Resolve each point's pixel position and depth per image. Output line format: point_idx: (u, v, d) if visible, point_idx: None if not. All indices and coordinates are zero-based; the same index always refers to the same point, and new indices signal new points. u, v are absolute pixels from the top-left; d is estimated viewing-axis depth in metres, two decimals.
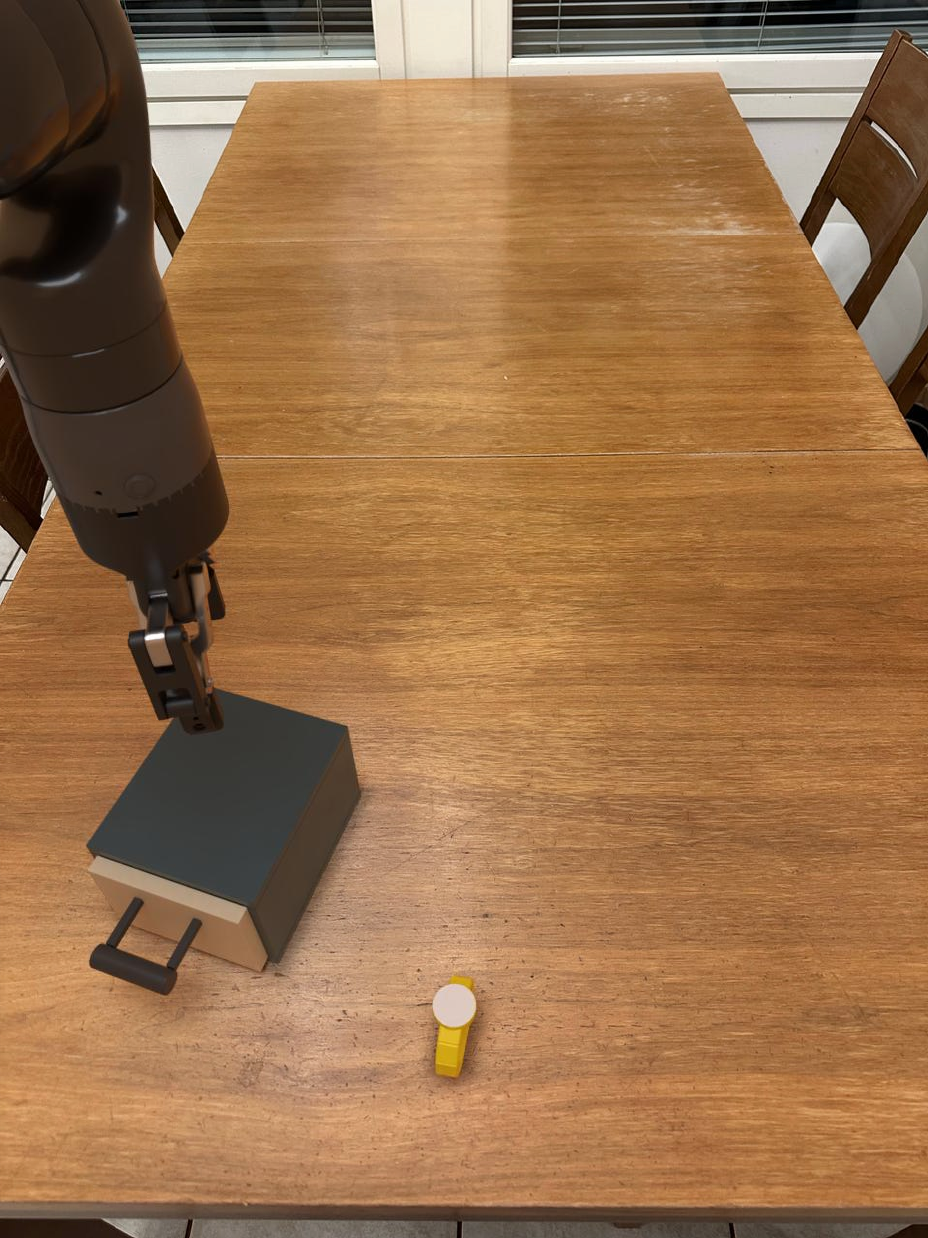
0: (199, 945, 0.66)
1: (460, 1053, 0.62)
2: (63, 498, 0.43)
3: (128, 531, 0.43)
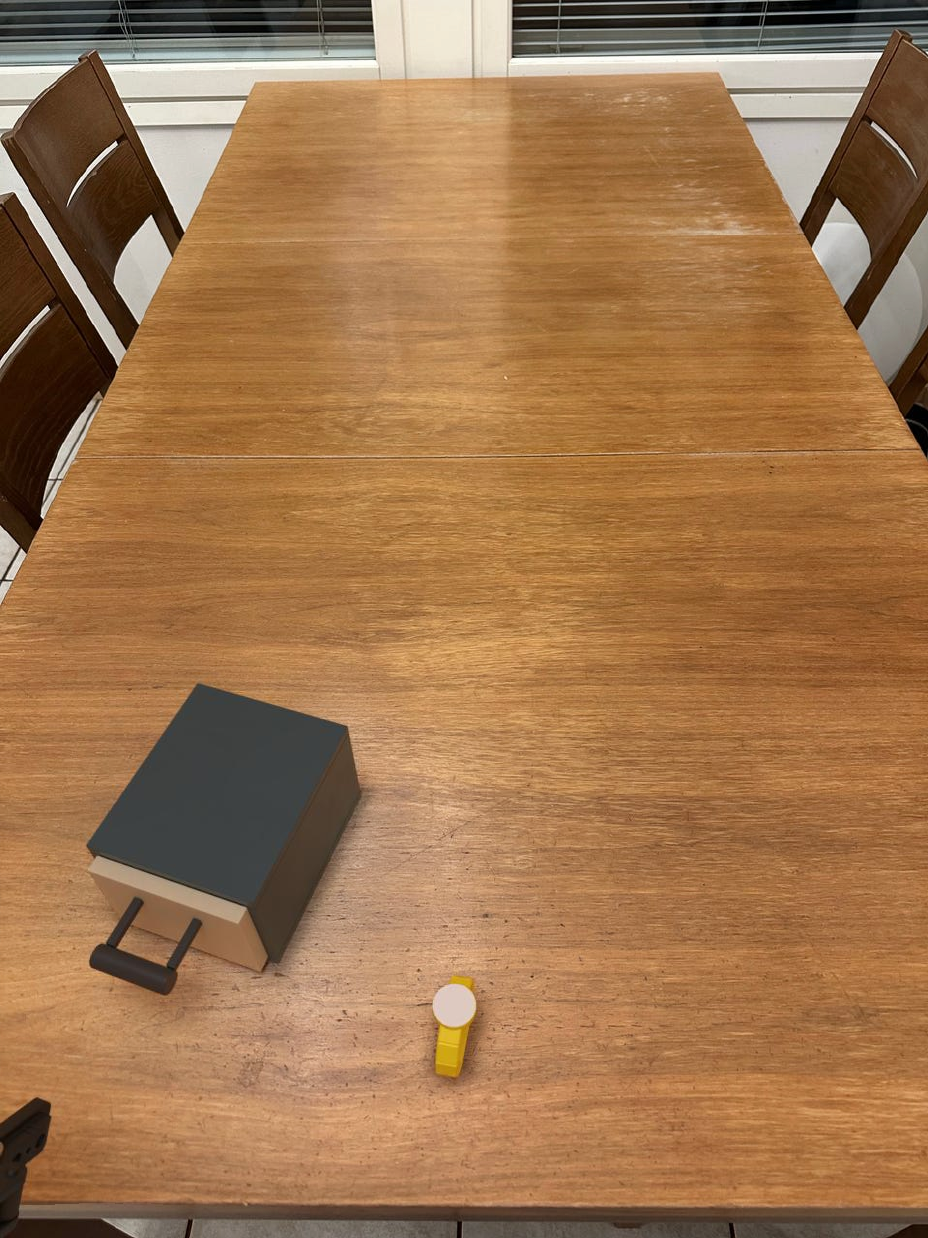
0: (199, 945, 0.66)
1: (460, 1053, 0.62)
2: None
3: None
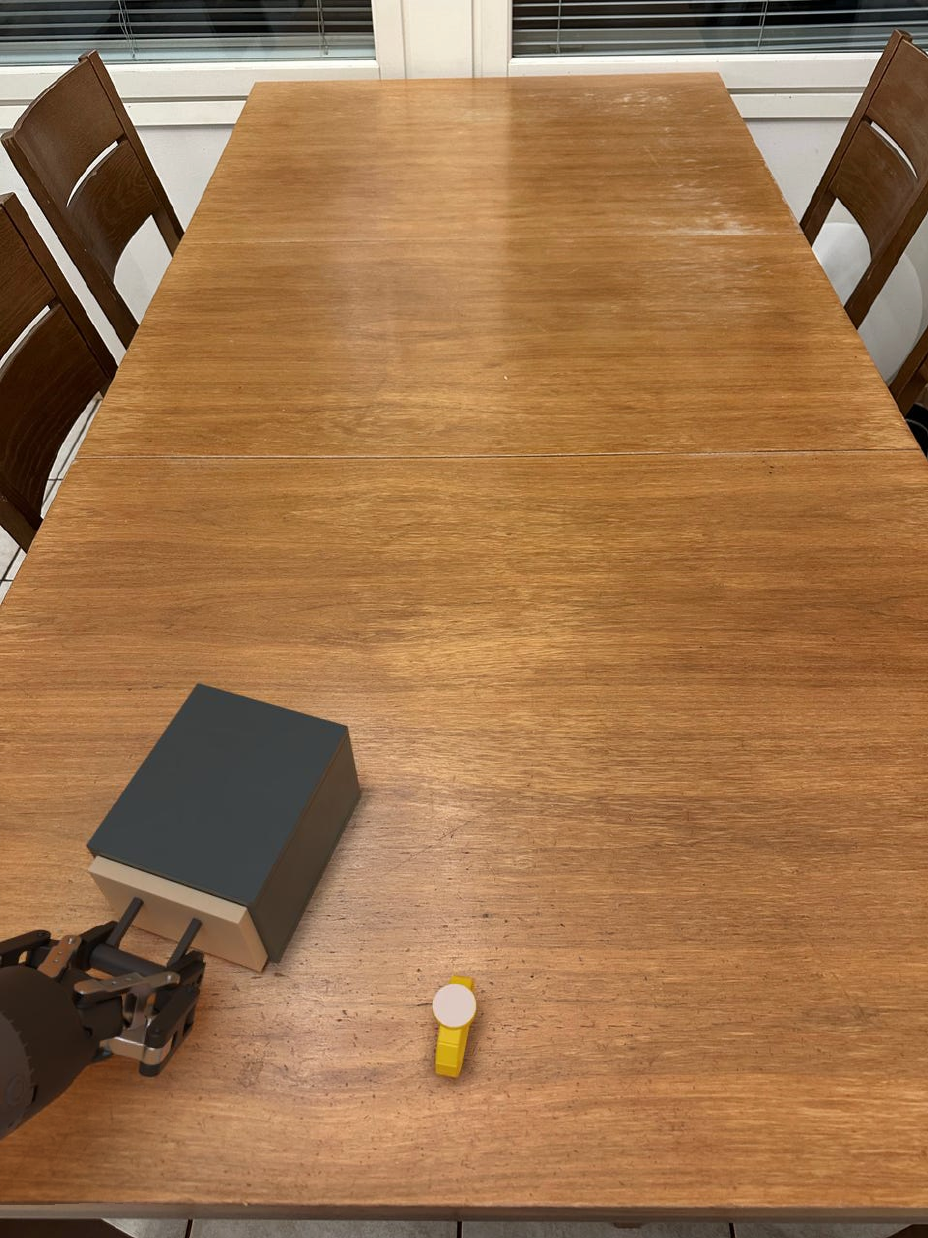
0: (199, 945, 0.66)
1: (460, 1053, 0.62)
2: None
3: (47, 1089, 0.47)
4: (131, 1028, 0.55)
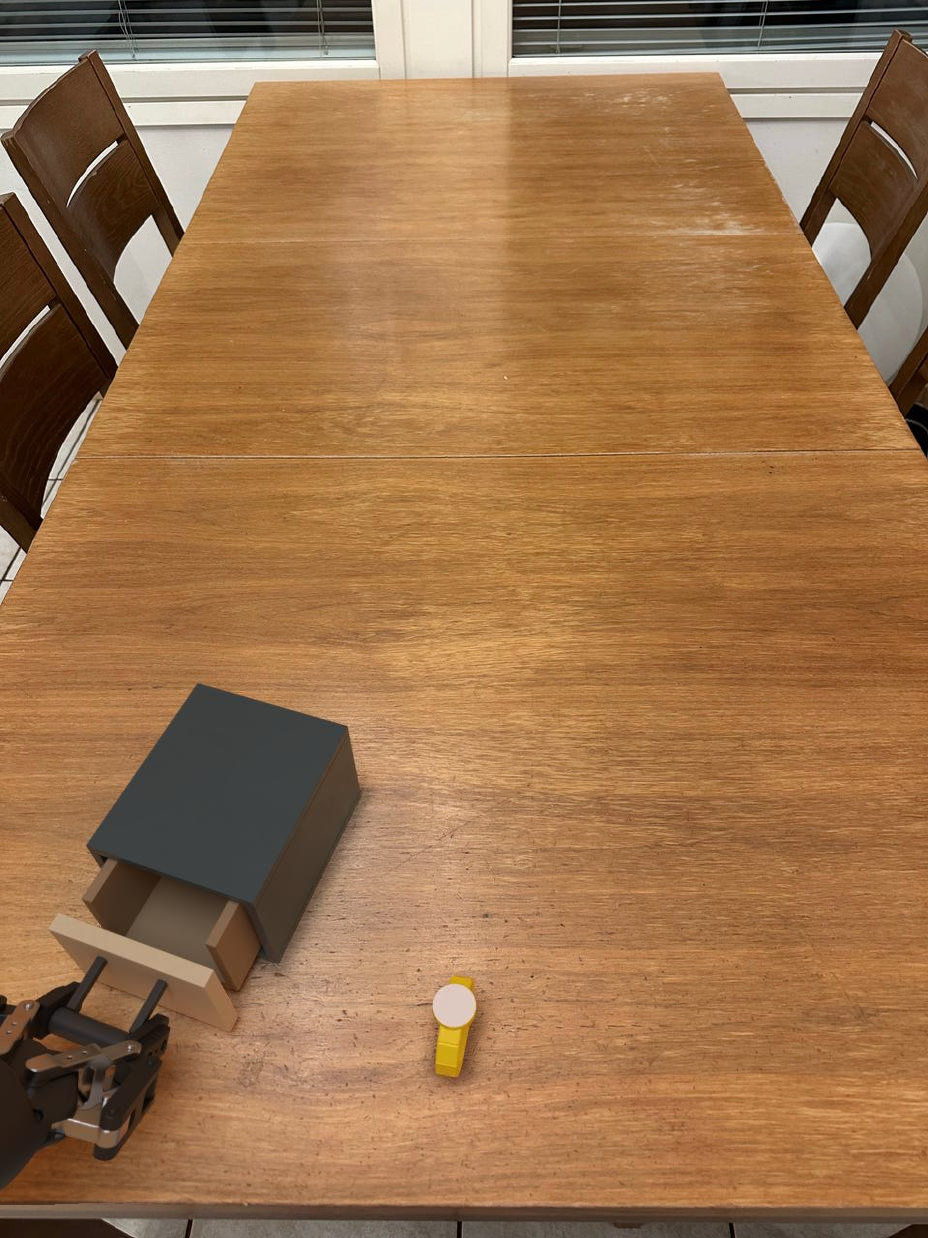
0: (166, 1004, 0.63)
1: (460, 1053, 0.62)
2: None
3: None
4: (88, 1103, 0.53)
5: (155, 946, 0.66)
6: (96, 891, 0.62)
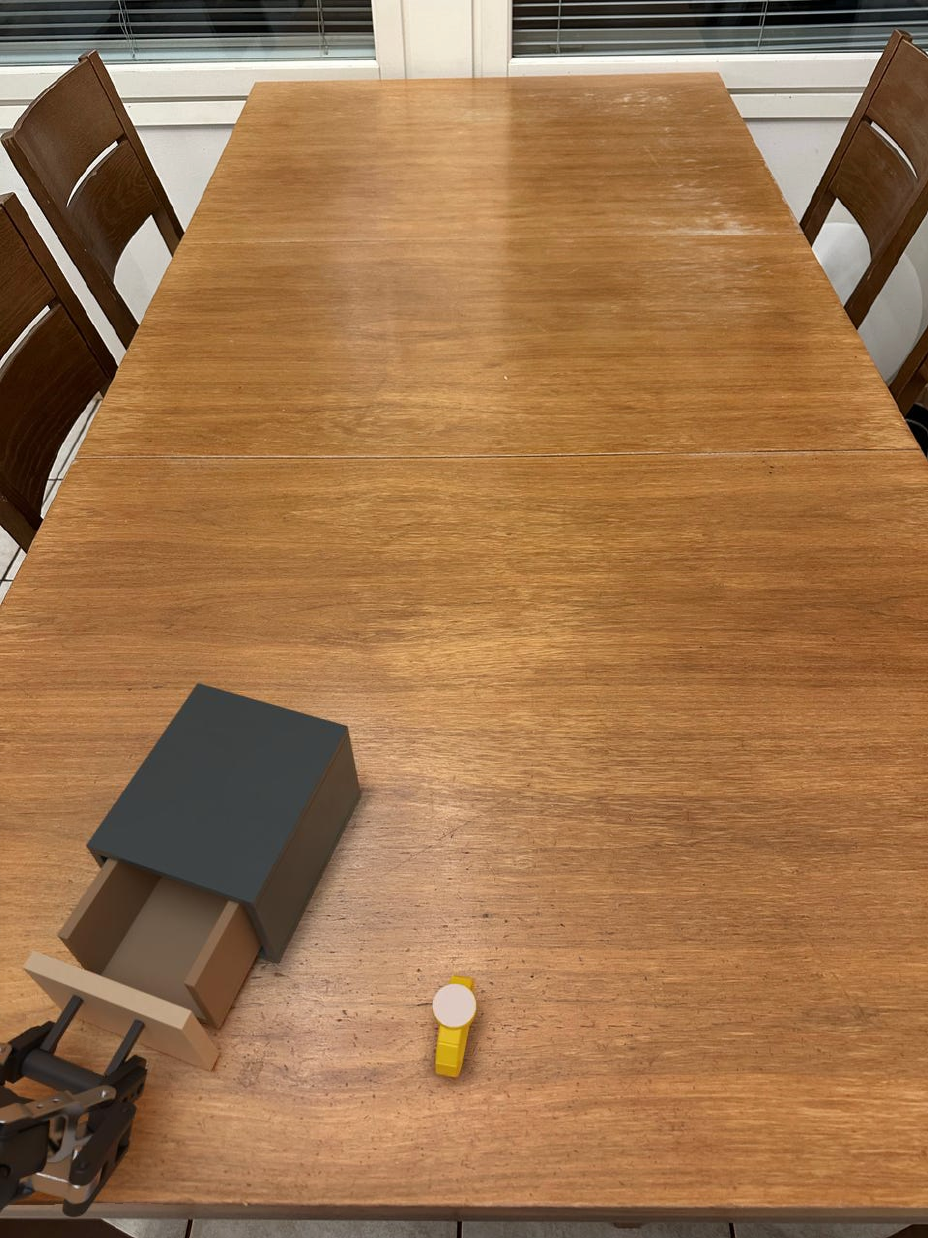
0: (145, 1042, 0.62)
1: (460, 1053, 0.62)
2: None
3: None
4: (60, 1153, 0.51)
5: (134, 981, 0.64)
6: (72, 927, 0.60)
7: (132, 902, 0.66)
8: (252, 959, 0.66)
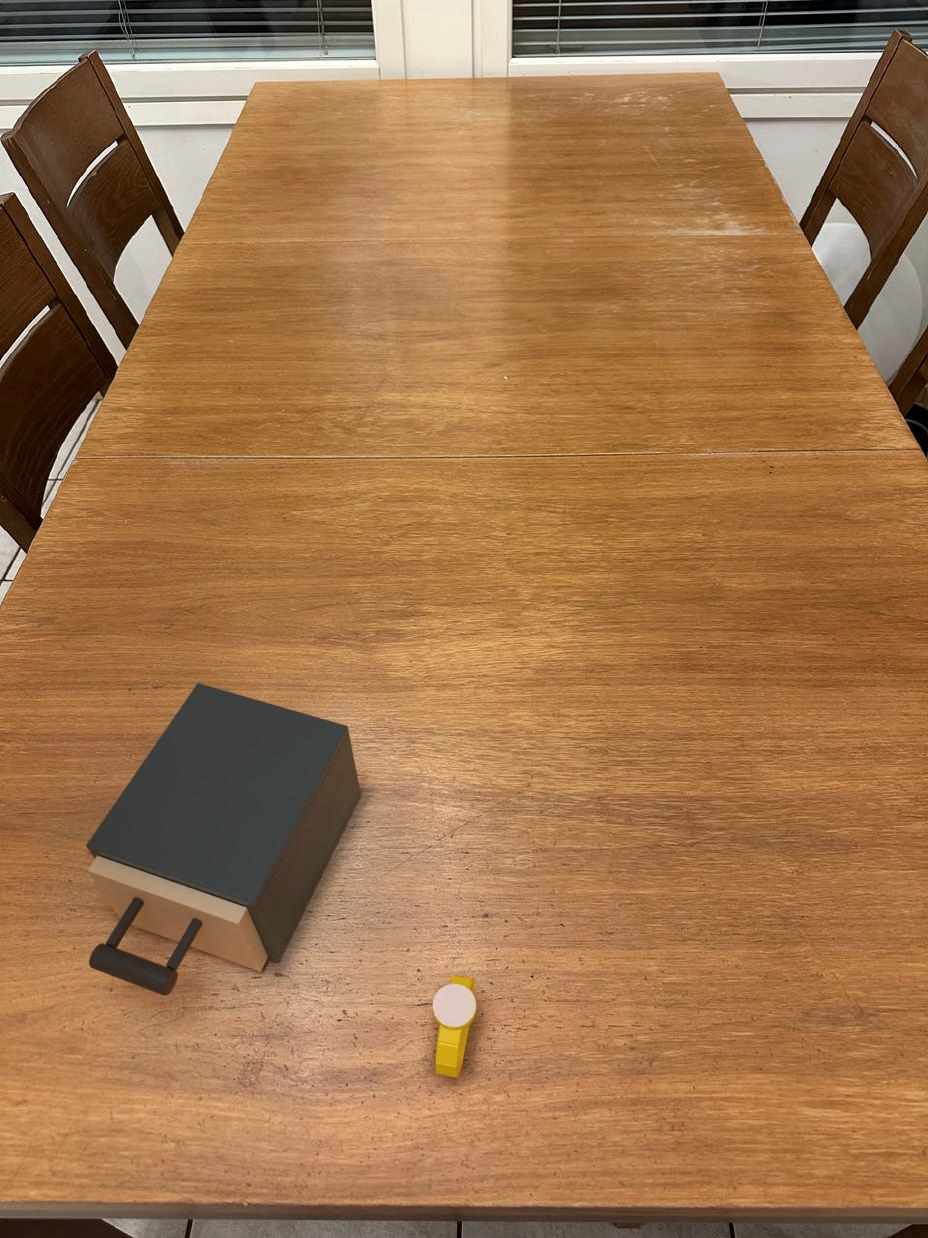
0: (199, 945, 0.66)
1: (460, 1053, 0.62)
2: None
3: None
4: None
5: None
6: None
7: None
8: None
